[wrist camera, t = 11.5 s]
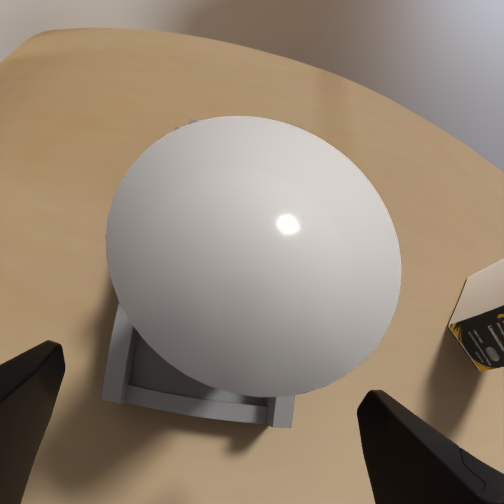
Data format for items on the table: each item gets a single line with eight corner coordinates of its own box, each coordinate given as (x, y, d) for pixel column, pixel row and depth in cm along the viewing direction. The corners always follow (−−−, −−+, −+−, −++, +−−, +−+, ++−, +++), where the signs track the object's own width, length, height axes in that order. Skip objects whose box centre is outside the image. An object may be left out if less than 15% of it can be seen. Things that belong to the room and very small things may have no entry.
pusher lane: (273, 420, 16) (298, 430, 13) (113, 395, 15) (95, 400, 11) (293, 181, 24) (312, 149, 20) (174, 154, 22) (176, 116, 18)
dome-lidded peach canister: (207, 401, 15) (285, 466, 4) (135, 328, 16) (48, 215, 4) (273, 331, 18) (432, 243, 6) (205, 265, 19) (259, 88, 7)
